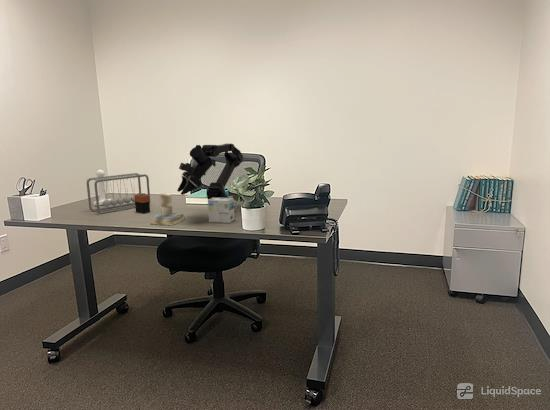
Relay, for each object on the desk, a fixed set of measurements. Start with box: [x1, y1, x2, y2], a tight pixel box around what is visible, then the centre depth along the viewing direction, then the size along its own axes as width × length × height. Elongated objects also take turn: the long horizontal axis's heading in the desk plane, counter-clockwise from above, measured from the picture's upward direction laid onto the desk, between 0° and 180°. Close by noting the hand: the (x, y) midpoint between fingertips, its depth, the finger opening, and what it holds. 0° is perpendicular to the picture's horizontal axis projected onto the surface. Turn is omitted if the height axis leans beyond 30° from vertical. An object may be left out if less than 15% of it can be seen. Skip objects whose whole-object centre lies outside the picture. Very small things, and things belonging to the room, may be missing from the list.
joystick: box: [93, 169, 112, 207], centre depth 231 cm, size 11×8×20 cm
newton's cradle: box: [86, 172, 151, 215], centre depth 221 cm, size 30×10×18 cm, turn 137°
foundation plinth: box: [149, 212, 185, 227], centre depth 191 cm, size 11×11×3 cm
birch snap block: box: [159, 192, 174, 217], centre depth 189 cm, size 5×5×10 cm
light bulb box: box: [207, 197, 236, 224], centre depth 191 cm, size 11×7×11 cm, turn 77°
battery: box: [134, 192, 151, 214], centre depth 212 cm, size 4×7×10 cm, turn 54°
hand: (179, 192), depth 191 cm, fingers open, 9 cm apart
